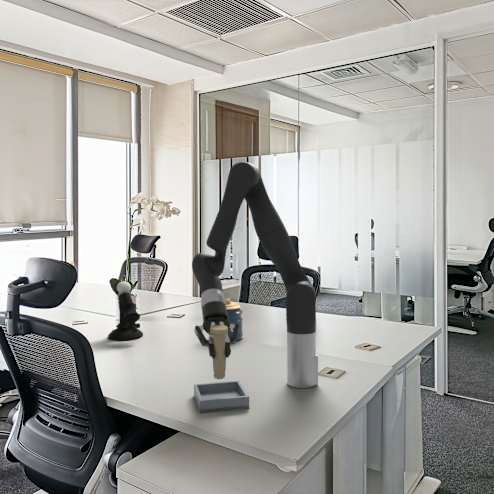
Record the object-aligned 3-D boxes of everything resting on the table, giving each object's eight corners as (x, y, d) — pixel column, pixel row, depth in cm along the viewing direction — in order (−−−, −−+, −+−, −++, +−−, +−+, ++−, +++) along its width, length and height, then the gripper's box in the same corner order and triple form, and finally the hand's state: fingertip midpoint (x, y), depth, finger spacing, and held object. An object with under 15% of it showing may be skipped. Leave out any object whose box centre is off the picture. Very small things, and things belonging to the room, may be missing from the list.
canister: (209, 341, 220) (208, 300, 218) (219, 334, 232) (218, 295, 231) (237, 343, 216) (237, 301, 215) (246, 335, 228) (246, 296, 227)
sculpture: (137, 331, 239) (136, 278, 238) (153, 342, 219) (151, 284, 217) (104, 335, 232) (102, 280, 230) (117, 347, 211) (116, 287, 210)
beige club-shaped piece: (226, 373, 153) (226, 324, 152) (229, 381, 146) (229, 329, 145) (210, 374, 152) (209, 325, 151) (212, 382, 146) (212, 330, 144)
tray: (239, 391, 158) (239, 380, 158) (249, 408, 144) (249, 396, 144) (194, 395, 155) (193, 384, 155) (200, 413, 141) (199, 401, 141)
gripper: (191, 300, 153) (197, 351, 142) (237, 299, 156) (246, 348, 145) (190, 314, 159) (195, 364, 148) (234, 312, 162) (242, 361, 151)
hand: (220, 356), depth 147 cm, fingers closed on beige club-shaped piece, 3 cm apart
